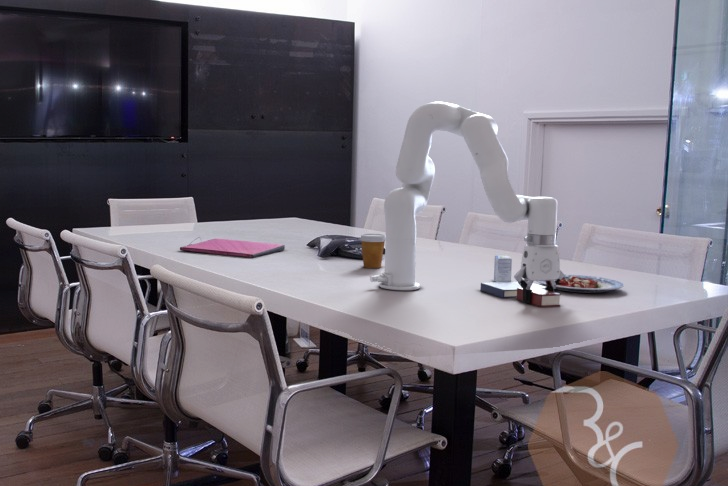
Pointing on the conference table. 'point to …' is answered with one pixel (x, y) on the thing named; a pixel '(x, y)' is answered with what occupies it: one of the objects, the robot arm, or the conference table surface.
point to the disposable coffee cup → (372, 249)
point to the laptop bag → (233, 248)
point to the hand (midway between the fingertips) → (537, 301)
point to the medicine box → (502, 268)
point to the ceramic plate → (586, 284)
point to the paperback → (541, 297)
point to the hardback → (504, 288)
